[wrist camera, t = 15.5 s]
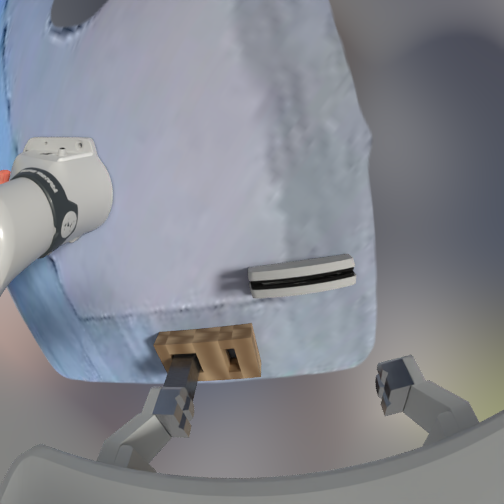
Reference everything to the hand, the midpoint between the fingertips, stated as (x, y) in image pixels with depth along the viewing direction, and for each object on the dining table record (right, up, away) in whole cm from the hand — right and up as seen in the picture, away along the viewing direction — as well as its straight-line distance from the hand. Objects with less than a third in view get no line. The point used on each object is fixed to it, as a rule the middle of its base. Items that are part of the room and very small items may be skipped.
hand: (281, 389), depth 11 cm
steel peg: (-13, -13, +44) cm, 48 cm away
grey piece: (+6, +3, +36) cm, 37 cm away
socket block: (-9, -13, +43) cm, 46 cm away
